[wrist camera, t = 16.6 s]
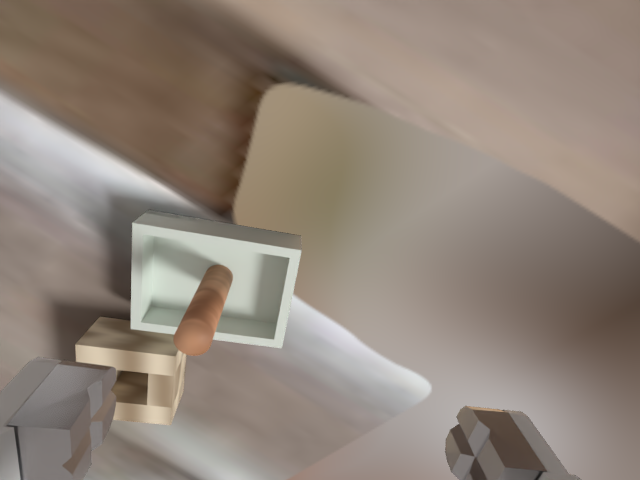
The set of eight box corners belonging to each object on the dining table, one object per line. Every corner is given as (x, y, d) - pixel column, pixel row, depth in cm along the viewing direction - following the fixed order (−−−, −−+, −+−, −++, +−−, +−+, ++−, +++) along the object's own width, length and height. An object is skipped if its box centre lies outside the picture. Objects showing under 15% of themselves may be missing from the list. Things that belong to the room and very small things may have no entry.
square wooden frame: (101, 383, 46) (78, 416, 41) (99, 316, 42) (75, 344, 37) (183, 392, 47) (170, 425, 42) (188, 328, 43) (175, 356, 39)
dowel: (204, 286, 40) (172, 353, 30) (206, 262, 39) (174, 323, 29) (231, 290, 41) (209, 357, 30) (234, 267, 39) (212, 328, 29)
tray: (145, 308, 42) (130, 328, 38) (148, 209, 38) (132, 222, 34) (283, 326, 44) (281, 348, 40) (301, 235, 40) (301, 250, 36)
